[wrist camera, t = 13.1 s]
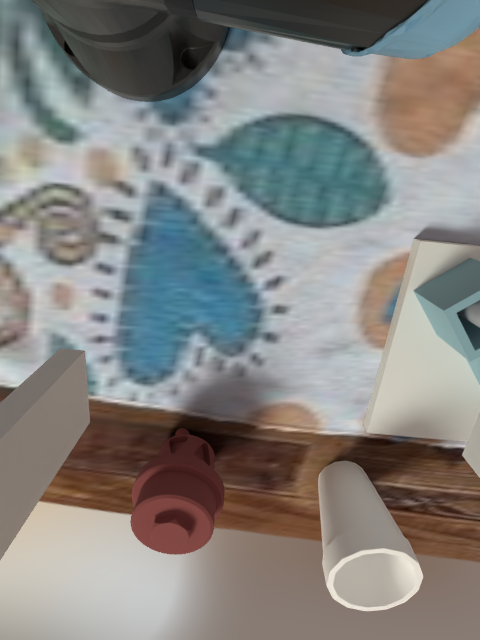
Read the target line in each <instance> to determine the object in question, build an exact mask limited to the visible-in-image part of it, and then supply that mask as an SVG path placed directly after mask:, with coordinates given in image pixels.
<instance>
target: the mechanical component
mask: <svg viewBox="0 0 480 640" xmlns="http://www.w3.org/2000/svg"><path fill="white" fill-rule="evenodd" d="M214 462H215V455H214V451H213V449H212V448H211V446H210V445H209V444H208V443H207V442H206V441H204V440H203V439H201V438H199V437H197V436H194V435H190V434H189V432H188V431H187V430H186V429H184V428H180V429H178V430H177V431H176V434H175V436H174V437H171V438H169V439H168V440H167V441H165V442H164V443H163V445H162V446H161V448H160V451H159V455H158V458H157V459H155V460H153V461H151V462H149V463H148V464H147V465H145V466H144V467H143V468H142V469H141V471H140V472H139V474H138V475H137V478H136V481H135V483H134V486H133V490H132V501H133V504H134V510H133V513H132V516H131V527H132V531H133V533H134V534H135V536H136V537H137V539H138V540H139V541H140V542H142V543H143V544H144V545H145V546H147V547H149V548H151V549H153V550H155V551H158V552H161V553H167V554H186V553H190V552H193V551H196V550H198V549H200V548H201V547H203V546H204V545H205V544H206V543H207V542H208V541H209V540H210V538H211V536H212V534H213V529H214V521H215V520H216V519H217V517H218V516H219V515H220V513H221V511H222V509H223V504H224V485H223V482H222V480H221V478H220V476H219V475H218V473H217V472H216V471H215V470H214Z"/></svg>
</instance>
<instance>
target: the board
mask: <svg viewBox="0 0 480 640" xmlns="http://www.w3.org/2000/svg"><path fill="white" fill-rule="evenodd" d="M469 258H472V259H475V260H478V261H480V245H471V244H461V243H451V242H441V241H431V240H422V239H414V240H413V244H412V248H411V251H410V255H409V259H408V262H407V266H406V270H405V273H404V277H403V281H402V284H401V288H400V292H399V295H398V299H397V303H396V306H395V310H394V314H393V317H392V321H391V325H390V328H389V332H388V336H387V339H386V343H385V347H384V350H383V354H382V358H381V361H380V365H379V369H378V372H377V376H376V380H375V383H374V387H373V391H372V394H371V398H370V402H369V405H368V409H367V413H366V416H365V420H364V424H363V426H364V428H365V430H366V432H367V433H373V434H384V435H395V436H406V437H417V438H428V439H439V440H451V441H462V442H468V440H469V437H470V435H471V433H472V430H473V428H474V425H475V423H476V420H477V418H478V416H479V413H480V385H479V383H478V381H477V379H476V377H475V375H474V373H473V371H472V369H471V367H470V365H469V363H468V361H467V360H466V358H465V357H463V356H462V355H461V354H460V353H458V352H457V351H456V350H455V349H453V348H452V347H451V346H450V345H448V344H447V343H446V342H445V341H443V340H442V339H441V338H440V337H438V336H437V334H436V333H435V331H434V329H433V327H432V325H431V323H430V321H429V319H428V318H427V316H426V314H425V312H424V310H423V308H422V306H421V304H420V303H419V301H418V299H417V297H416V295H415V293H414V290H415V289H417V288H419V287H421V286H422V285H424V284H426V283H427V282H429V281H431V280H433V279H434V278H436V277H438V276H440V275H441V274H443V273H445V272H446V271H448V270H450V269H452V268H453V267H455V266H457V265H459V264H460V263H462V262H464V261H465V260H467V259H469ZM456 314H457V316H462V317H464V318H465V319H467V320H468V321H470V322H472V323H473V324H475V325H476V326H478V327H480V300H479V301H477V302H475V303H473V304H472V305H470V306H468V307H466V308H464V309H463V310H461V311H459V312H457V313H456Z"/></svg>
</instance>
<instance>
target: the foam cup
mask: <svg viewBox="0 0 480 640" xmlns="http://www.w3.org/2000/svg"><path fill="white" fill-rule="evenodd" d="M318 490H319V503H320V516H321V530H322V543H323V555H324V556H323V561H322V565H323V570H324V574H325V580H326V584H327V587H328V589H329V591H330V593H331V595H332V597H333V599H335V600H336V601H338V602H339V603H341V604H342V605H344V606H346V607H347V608H352V609H358V610H362V611H374V610H385V609H388V608H391V607H394V606H396V605H399V604H402V603H404V602H406V601H407V600H408V599H409V598H410V597H411V596H412V595H414V594H415V593H416V592H417V591H418V590H419V587H420V584H421V582H422V579H423V575H422V571H421V569H420V566H419V563H418V561H417V559H416V556H415V554H414V552H413V550H412V547H411V545H410V543H409V541H408V540H407V539H406V538H405V537H404V536H403V534H402V533H401V531H400V529H399V528H398V526H397V524H396V523H395V521H394V519H393V518H392V516H391V514H390V513H389V511H388V509H387V508H386V506H385V504H384V503H383V501H382V499H381V498H380V496H379V494H378V493H377V491H376V489H375V488H374V486H373V484H372V483H371V481H370V480H369V478H368V476H367V475H366V473H365V472H364V470H363V468H361V467H360V466H359V465H357V464H356V463H353V462H349V461H339V462H334V463H332V464H330V465H328V466H326V467H325V468H324V469H323V470H322V471H321V473H320V474H319V479H318Z"/></svg>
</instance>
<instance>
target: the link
mask: <svg viewBox="0 0 480 640" xmlns="http://www.w3.org/2000/svg"><path fill="white" fill-rule="evenodd" d="M414 293H415V295H416V297H417V299H418V301H419V303H420V304H421V306H422V308H423V310H424V312H425V314H426V316H427V318H428V319H429V321H430V323H431V325H432V327H433V329H434V331H435V333H436V334H437V336H438V337H440V338H441V339H442V340H443V341H445V342H446V343H447V344H448V345H450V346H451V347H452V348H453V349H455V350H456V351H457V352H458V353H460V354H461V355H462V356H463V357H465V358H466V360H467V361H468V363H469V365H470V367H471V369H472V371H473V373H474V375H475V377H476V379H477V381H478V383H479V385H480V327H478V326H476V325H475V324H473V323H472V322H470V321H468V320H467V319H465V318H464V317H462V316H457V314H456V313H457V312H459V311H461V310H463V309H464V308H466V307H468V306H470V305H472V304H473V303H475V302H477V301H479V300H480V261H478V260H475V259H472V258H469V259H467V260H465V261H464V262H462V263H460V264H459V265H457V266H455V267H453V268H452V269H450V270H448V271H446V272H445V273H443V274H441V275H440V276H438V277H436V278H434V279H433V280H431V281H429V282H427V283H426V284H424V285H422V286H421V287H419V288H417V289H415V290H414Z"/></svg>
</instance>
